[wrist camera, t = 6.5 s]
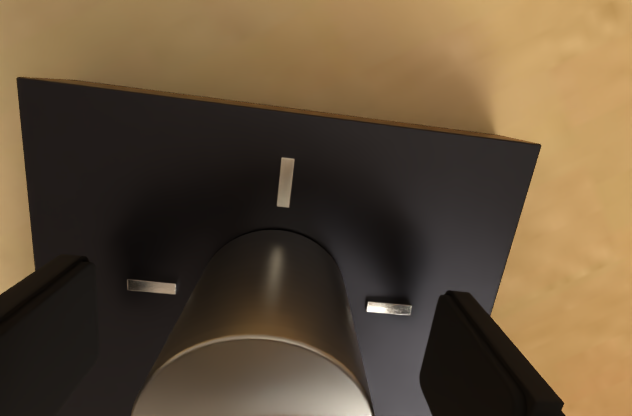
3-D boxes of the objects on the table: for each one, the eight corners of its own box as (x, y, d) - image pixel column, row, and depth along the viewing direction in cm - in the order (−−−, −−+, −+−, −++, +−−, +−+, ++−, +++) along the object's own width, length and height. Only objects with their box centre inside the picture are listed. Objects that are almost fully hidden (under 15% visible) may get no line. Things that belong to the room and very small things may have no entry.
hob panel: (89, 369, 15) (45, 425, 12) (72, 79, 12) (10, 76, 9) (429, 393, 16) (453, 451, 13) (497, 135, 13) (546, 145, 10)
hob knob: (197, 350, 12) (121, 540, 7) (204, 220, 11) (117, 335, 6) (333, 362, 12) (357, 551, 7) (355, 237, 11) (403, 361, 6)
